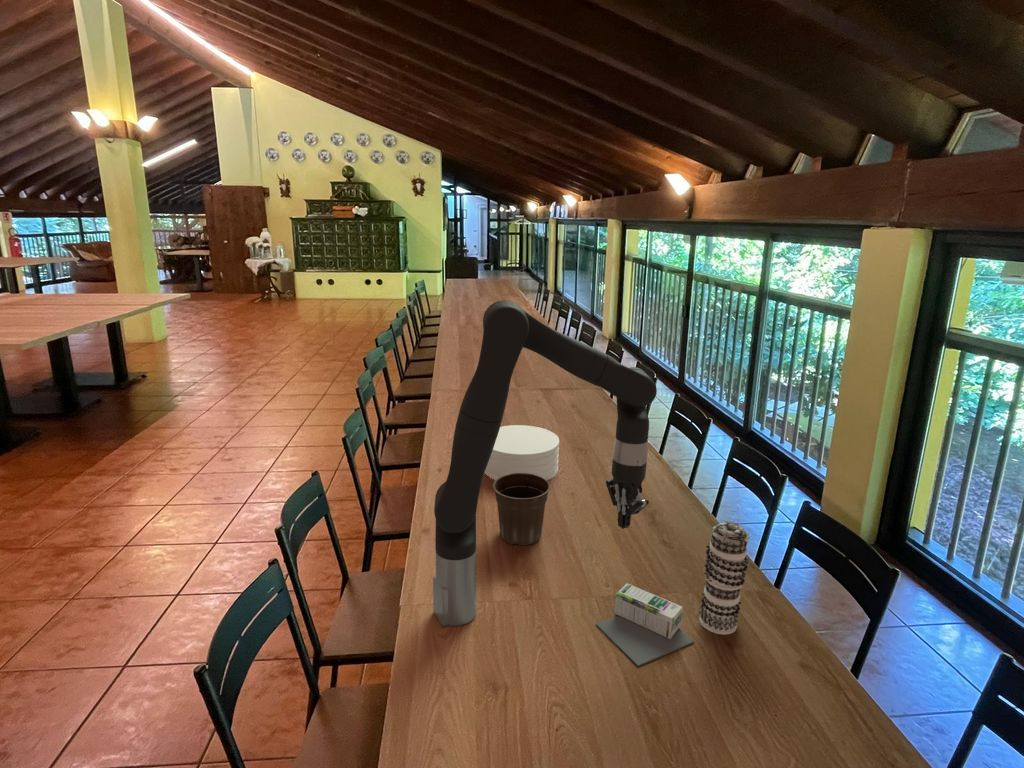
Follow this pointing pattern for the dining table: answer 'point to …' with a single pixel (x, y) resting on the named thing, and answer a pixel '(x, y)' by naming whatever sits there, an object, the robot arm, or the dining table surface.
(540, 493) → the plant pot
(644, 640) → the mat
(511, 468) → the plate stack
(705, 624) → the decorative candle
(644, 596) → the syrup box
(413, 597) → the dining table surface
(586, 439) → the dining table surface
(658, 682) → the dining table surface
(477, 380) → the robot arm
